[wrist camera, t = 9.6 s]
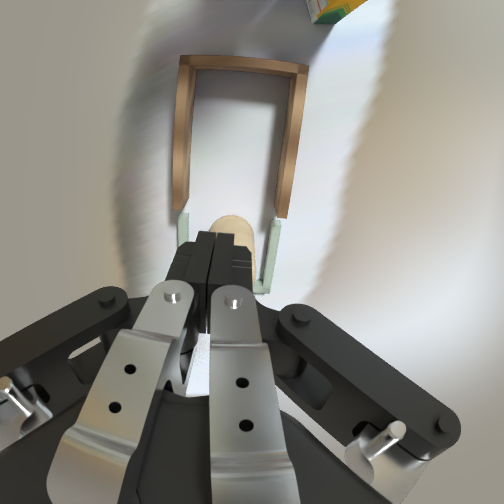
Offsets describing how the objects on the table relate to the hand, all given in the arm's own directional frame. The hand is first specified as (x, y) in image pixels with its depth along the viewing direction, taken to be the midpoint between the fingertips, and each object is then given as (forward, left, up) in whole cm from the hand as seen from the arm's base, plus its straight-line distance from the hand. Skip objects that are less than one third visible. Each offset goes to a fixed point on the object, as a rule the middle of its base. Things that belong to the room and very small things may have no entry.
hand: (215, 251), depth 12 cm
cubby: (-3, 0, -20) cm, 21 cm away
